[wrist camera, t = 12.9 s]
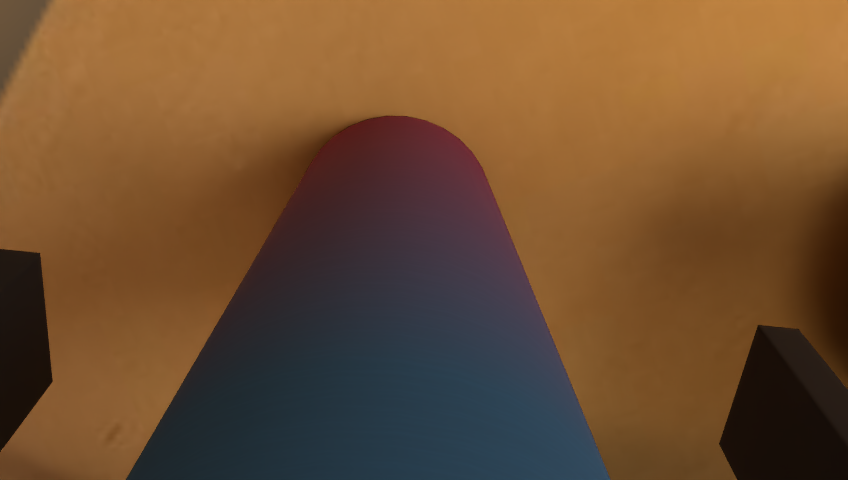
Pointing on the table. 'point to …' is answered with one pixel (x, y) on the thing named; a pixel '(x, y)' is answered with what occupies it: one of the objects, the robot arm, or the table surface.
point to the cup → (380, 336)
